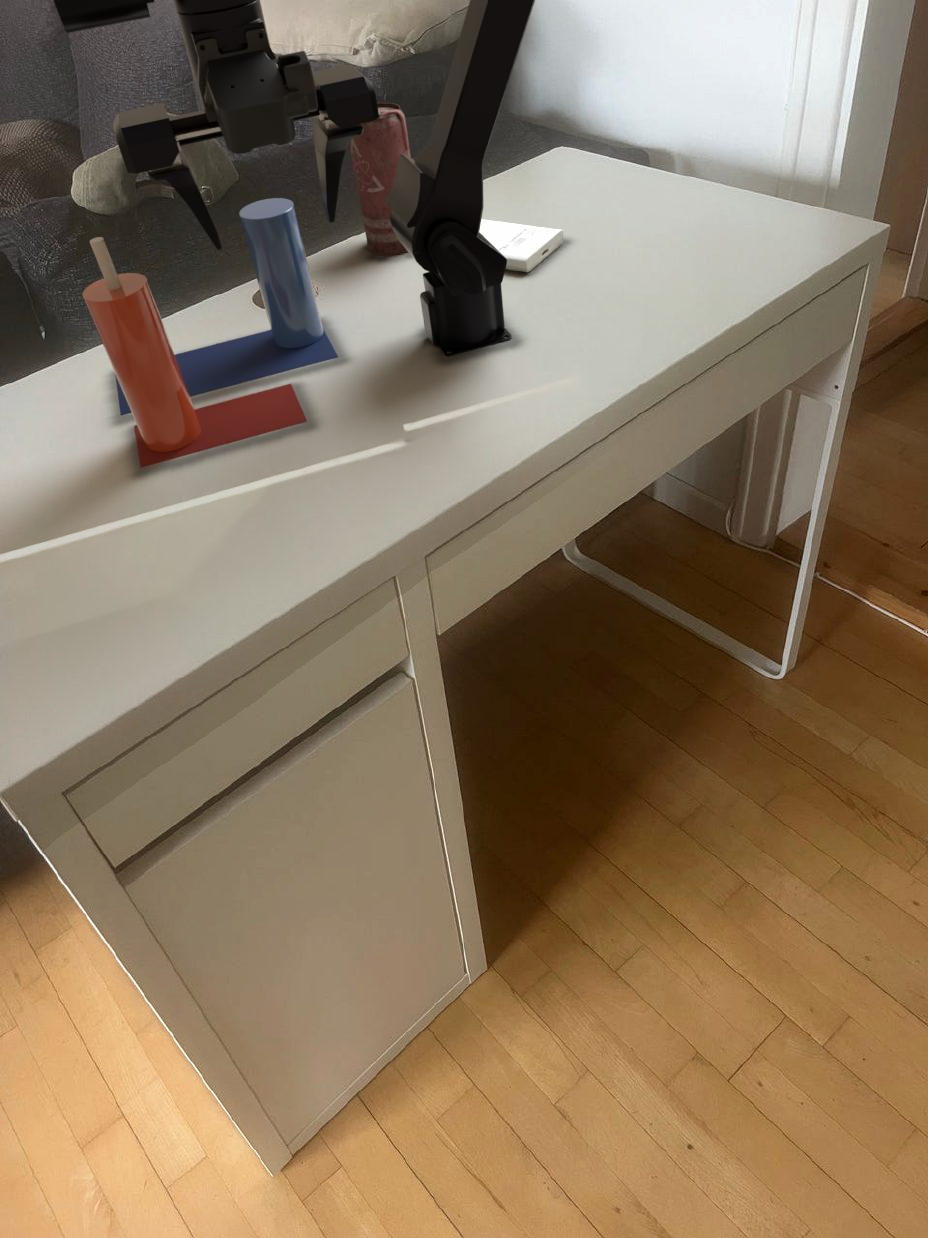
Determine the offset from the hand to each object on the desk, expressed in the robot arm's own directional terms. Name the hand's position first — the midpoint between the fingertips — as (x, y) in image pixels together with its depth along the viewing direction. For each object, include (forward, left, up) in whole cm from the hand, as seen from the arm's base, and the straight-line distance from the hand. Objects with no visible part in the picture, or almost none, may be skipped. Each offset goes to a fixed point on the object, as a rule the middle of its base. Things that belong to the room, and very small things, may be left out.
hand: (275, 234), depth 72 cm
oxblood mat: (+9, +4, -13) cm, 16 cm away
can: (-15, -24, -13) cm, 31 cm away
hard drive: (-24, -17, -13) cm, 32 cm away
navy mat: (+7, -7, -13) cm, 16 cm away
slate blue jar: (-1, -8, -12) cm, 15 cm away
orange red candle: (+13, +4, -12) cm, 18 cm away
